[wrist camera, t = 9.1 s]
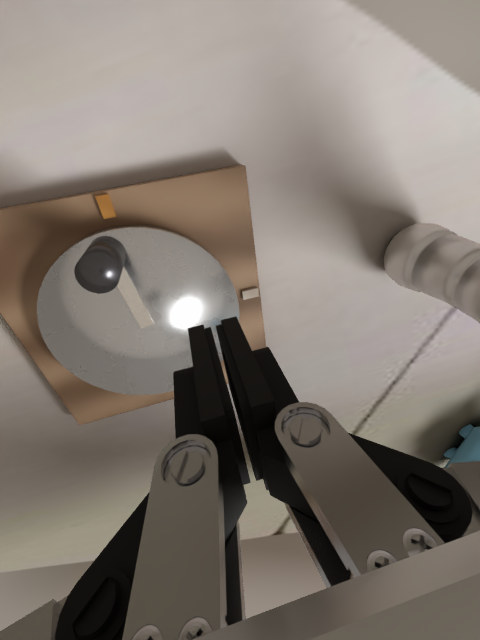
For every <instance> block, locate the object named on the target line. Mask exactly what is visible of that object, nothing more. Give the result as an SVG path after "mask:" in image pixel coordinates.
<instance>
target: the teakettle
mask: <svg viewBox="0 0 480 640" xmlns="http://www.w3.org/2000/svg"><path fill="white" fill-rule="evenodd" d="M459 434H460V435H461V436H462V437H464V438H465V440H464V441H463V442H462V444H461V445H460V447H459V448H458V449H456V448H451V449H449V450H447V451H446V452H445V453H444V456H445V457H447V458H450V460H449V462H448V463H447V465H446V466H445V467H448V466H449V464H450V463H457V462H472V461H480V426H478V427H473V426H472V425H467V426H465V427H463V428H462V429H461V430H460V432H459ZM445 467H444V468H445Z"/></svg>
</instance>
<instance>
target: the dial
mask: <svg viewBox="0 0 480 640" xmlns="http://www.w3.org/2000/svg"><path fill="white" fill-rule="evenodd" d="M235 316H236V317H237V319H238V321H239V303H238V298H237V294H236V291H235V289H234V286H233V283H232V282H231V280H230V278H229V276H228V274H227V273H226V271H225V269H224V268H223V266H222V265H221V264H220V262H219V261H218V260H217V259H216V258H215V257H214V256H213V255H212V254H211V253H210V252H209V251H208V250H207V249H206V248H204V247H203V246H202V245H200V244H199V243H197V242H196V241H194V240H192V239H190V238H189V237H187V236H185V235H182V234H180V233H177V232H175V231H172V230H168V229H165V228H161V227H155V226H148V225H125V226H116V227H112V228H108V229H104V230H100V231H98V232H95V233H93V234H91V235H88V236H86V237H84V238H83V239H81V240H79V241H78V242H76V243H75V244H73V245H72V246H71V247H70V248H68V249H67V250H66V251H65V252H64V253H63V254H62V255H61V256H60V257H59V258H58V259H57V261H56V262H55V263H54V264H53V265H52V266H51V268H50V269H49V271H48V273H47V274H46V276H45V277H44V280H43V282H42V285H41V287H40V290H39V294H38V300H37V319H38V325H39V329H40V332H41V335H42V337H43V340H44V341H45V343H46V345H47V347H48V349H49V350H50V352H51V353H52V354H53V356H54V357H55V358H56V359H57V360H58V361H59V362H60V363H61V365H62V366H63V367H65V368H66V369H67V370H68V371H70V372H71V373H72V374H73V375H75V376H77V377H78V378H80V379H81V380H83V381H85V382H87V383H89V384H91V385H93V386H96V387H99V388H101V389H104V390H108V391H112V392H116V393H122V394H129V395H153V394H161V393H166V392H170V391H174V382H173V373H174V371H178V370H182V369H185V368H189V367H193V362H192V355H191V348H190V341H189V334H188V328H191V327H195V326H199V325H203V324H204V328H208V327H211V330H212V333H213V337H214V341H215V344H216V348H217V351H218V355H219V359H220V362H221V361H222V360H223V356H222V352H221V347H220V343H219V339H218V334H217V330H216V325H220V324H221V320H223V319H227V318H231V317H235Z"/></svg>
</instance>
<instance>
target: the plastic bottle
mask: <svg viewBox="0 0 480 640" xmlns="http://www.w3.org/2000/svg"><path fill="white" fill-rule="evenodd" d="M384 265H385V270H386V273H387V274H388V276H389V277H390V278H391V279H392V280H394V281H395V282H396V283H397V284H398V285H400V286H403V287H405V288H408V289H411V290H414V291H418V292H423V293H425V294H428V295H430V296H432V297H435V298H437V299H440V300H442V301H444V302H447V303H448V304H450V305H452V306H453V307H455V308H457V309H459V310H460V311H462V312H463V313H465V314H467V315H468V316H470V317H472V318H473V319H475V320H476V321H478V322H479V323H480V244H479V243H476V242H474V241H471V240H469V239H466V238H463V237H461V236H458V235H457V234H455V233H454V232H452V231H450V230H449V229H446V228H444V227H442V226H440V225H437V224H429V223H417V224H414V225H411V226H409V227H407V228H405V229H403V230H401V231H400V232H399V233H397V234H396V235H395V236H394V237H393V239H392V240H391V241H390V243H389V245H388V246H387V249H386V251H385V255H384Z"/></svg>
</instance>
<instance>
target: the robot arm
mask: <svg viewBox="0 0 480 640" xmlns="http://www.w3.org/2000/svg"><path fill="white" fill-rule="evenodd" d="M216 330H217V334H218V339H219V343H220V347H221V352H222V356H223V361H224V365H225V369H226V374H227V378H228V382H229V387H230V390H231V394H232V398H233V401H234V405H235V408H236V412H237V415H238V419H239V422H240V426H241V429H242V433H243V436H244V440H245V443H246V447H247V450H248V454H249V457H250V461H251V464H252V468H253V471H254V475H255V478H256V481H257V480H260V479H263V480H264V483H265V487H266V490H269V492H270V495H271V496H273V497H275V498H277V499H278V500H280V501H282V502H284V503H285V506H286V509H287V511H288V513H289V515H290V517H291V519H292V521H293V523H294V525H295V527H296V529H297V531H298V533H299V534H300V536H301V538H302V540H303V542H304V544H305V546H306V548H307V550H308V552H309V554H310V556H311V558H312V560H313V562H314V564H315V566H316V568H317V570H318V572H319V574H320V576H321V578H322V580H323V582H324V584H325V586H326V589H324V590H321V591H318V592H316V593H314V594H311V595H308V596H305V597H303V598H300V599H297V600H295V601H292V602H290V603H287V604H284V605H282V606H279V607H277V608H274V609H272V610H269V611H266V612H263V613H261V614H258V615H256V616H253V617H250V618H248V619H246V618H245V617H246V616H245V603H244V589H243V588H244V587H243V573H242V558H241V545H240V529H239V522H238V519H239V517H240V515H241V514H242V512H243V510H244V508H245V506H246V504H247V500H246V495H245V490H244V486H243V485H245V484H248V483H250V478H249V474H248V470H247V465H246V461H245V457H244V452H243V448H242V444H241V439H240V435H239V431H238V426H237V422H236V418H235V414H234V410H233V406H232V402H231V398H230V395H229V391H228V388H227V384H226V380H225V377H224V373H223V370H222V366H221V362H220V359H219V355H218V351H217V348H216V344H215V341H214V337H213V333H212V330H211V327H208V328H204V324H203V325H199V326H195V327H191V328H188V334H189V341H190V348H191V355H192V362H193V367H189V368H185V369H182V370H178V371H174V373H173V382H174V406H175V430H176V439H175V440H174V441H172V442H170V443H169V444H168V445H167V446H166V447H165V448H164V449H163V450H162V452H161V453H160V455H159V456H158V458H157V461H156V464H155V467H154V471H153V477H152V482H151V488H150V492H149V493H148V495H147V496H146V497H145V498H144V500H143V501H142V502H141V503H140V505H139V506H138V507H137V508H136V510H135V511H134V512H133V513H132V515H131V516H130V517H129V518H128V520H127V521H126V522H125V523H124V525H123V526H122V527H121V528H120V530H119V531H118V532H117V533H116V535H115V536H114V537H113V538H112V540H111V541H110V542H109V543H108V545H107V546H106V547H105V548H104V550H103V551H102V552H101V553H100V555H99V556H98V557H97V558H96V560H95V561H94V562H93V563H92V565H91V566H90V567H89V568H88V570H87V571H86V572H85V573H84V575H83V576H82V577H81V579H80V580H79V581H78V582H77V583H76V585H75V586H74V588H73V589H72V591H71V593H70V594H69V595H68V596H67V597H65V598H63V599H62V600H60V601H58V602H57V601H55V600H54V599H53V600H51V601H49V602H48V603H46V604H44V605H43V606H41V607H39V608H38V609H36V610H35V611H33V612H31V613H30V614H28V615H26V616H25V617H23V618H22V619H20V620H18V621H16V622H15V623H13V624H12V625H10V626H8V627H7V628H5V629H3V630H2V631H0V640H480V461H472V462H457V463H450V464H449V466H448V467H445V468H440V467H438V466H436V465H434V464H432V463H430V462H427V461H424V460H421V459H419V458H416V457H413V456H410V455H408V454H405V453H402V452H399V451H397V450H394V449H391V448H388V447H386V446H383V445H380V444H377V443H374V442H372V441H369V440H366V439H363V438H361V437H358V436H355V435H352V434H350V433H347V431H346V430H345V429H344V428H343V427H342V426H341V425H340V424H339V422H338V421H337V420H336V419H335V418H334V417H333V416H332V414H331V413H329V412H328V411H327V410H326V409H325V408H323V407H321V406H319V405H317V404H313V403H308V402H299V401H298V399H297V397H296V396H295V394H294V392H293V390H292V388H291V387H290V385H289V383H288V381H287V379H286V378H285V376H284V374H283V372H282V370H281V368H280V367H279V365H278V363H277V361H276V359H275V358H274V356H273V354H272V352H271V350H270V349H269V348H268V347H265V348H261V349H257V350H254V351H252V350H251V347H250V345H249V343H248V341H247V339H246V336H245V334H244V332H243V330H242V328H241V325H240V323H239V321H238V319H237V317H236V316H235V317H231V318H227V319H223V320H221V324H220V325H216Z"/></svg>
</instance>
